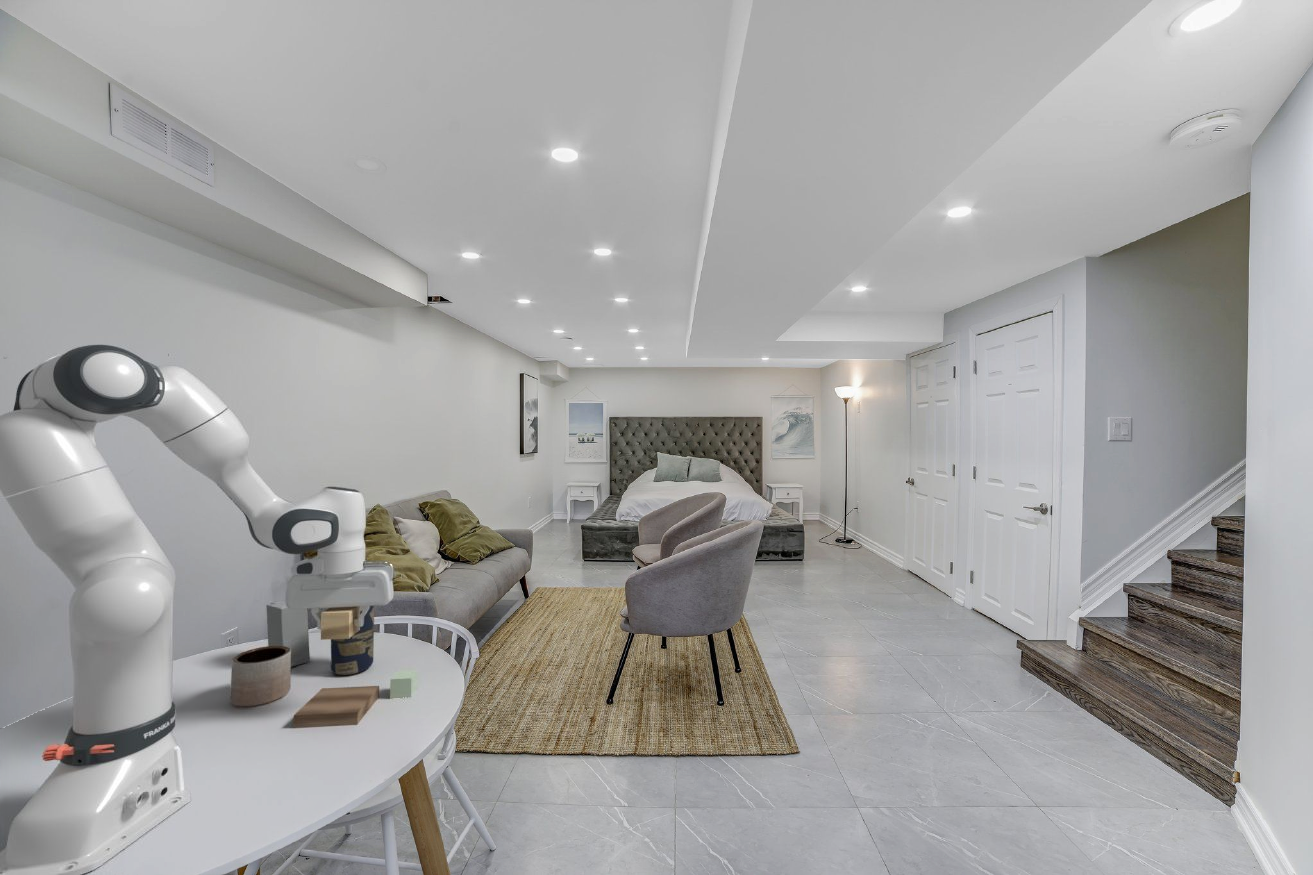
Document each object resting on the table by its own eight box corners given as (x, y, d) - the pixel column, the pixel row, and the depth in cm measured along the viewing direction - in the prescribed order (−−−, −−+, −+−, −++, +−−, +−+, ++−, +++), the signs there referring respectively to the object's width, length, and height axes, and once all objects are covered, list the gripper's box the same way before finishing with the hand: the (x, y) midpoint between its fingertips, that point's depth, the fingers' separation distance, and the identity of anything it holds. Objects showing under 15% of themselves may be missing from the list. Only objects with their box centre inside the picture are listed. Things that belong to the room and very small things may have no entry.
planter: (301, 687, 125) (302, 646, 126) (263, 710, 115) (264, 665, 115) (259, 684, 127) (260, 643, 127) (216, 707, 116) (218, 662, 116)
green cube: (411, 698, 121) (411, 678, 121) (390, 699, 120) (390, 679, 120) (417, 689, 126) (417, 669, 126) (396, 690, 125) (397, 670, 125)
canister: (370, 674, 133) (372, 601, 133) (326, 680, 129) (328, 605, 129) (375, 659, 142) (376, 591, 142) (334, 664, 138) (335, 594, 138)
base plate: (357, 724, 109) (357, 712, 109) (293, 727, 108) (293, 715, 108) (379, 696, 121) (379, 685, 121) (321, 699, 120) (322, 688, 120)
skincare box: (310, 662, 140) (311, 601, 140) (279, 671, 134) (281, 608, 134) (294, 655, 144) (295, 595, 144) (264, 664, 138) (265, 602, 138)
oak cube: (348, 638, 112) (349, 612, 112) (320, 639, 112) (321, 613, 112) (359, 629, 118) (360, 604, 118) (333, 630, 117) (333, 605, 117)
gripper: (398, 557, 120) (397, 619, 120) (296, 560, 116) (295, 624, 116) (389, 563, 114) (388, 629, 114) (282, 567, 110) (281, 634, 110)
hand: (340, 626), depth 115 cm, fingers closed on oak cube, 6 cm apart
